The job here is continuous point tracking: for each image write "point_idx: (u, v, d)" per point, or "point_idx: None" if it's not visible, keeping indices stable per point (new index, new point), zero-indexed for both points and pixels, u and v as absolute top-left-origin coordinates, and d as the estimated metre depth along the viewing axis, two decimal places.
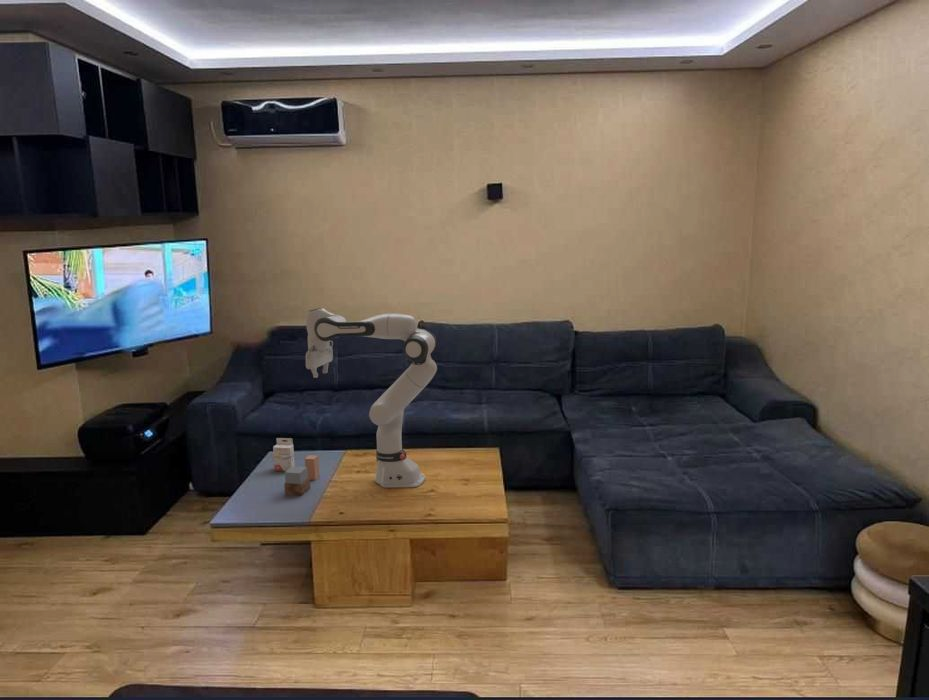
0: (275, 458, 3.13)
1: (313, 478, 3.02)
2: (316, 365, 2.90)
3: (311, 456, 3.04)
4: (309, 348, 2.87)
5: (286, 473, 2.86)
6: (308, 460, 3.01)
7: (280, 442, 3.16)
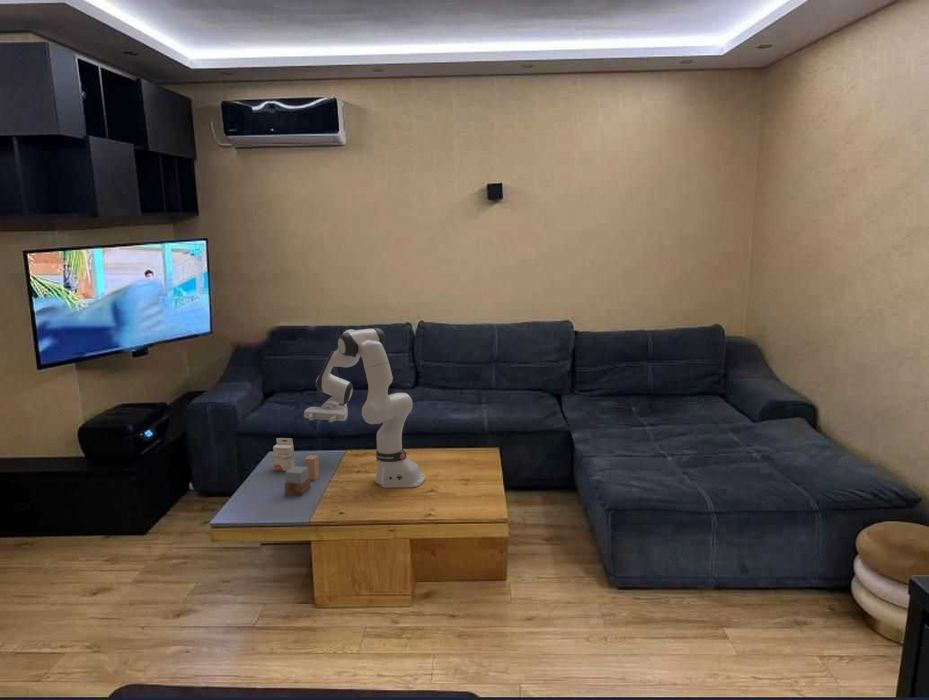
0: (275, 458, 3.13)
1: (313, 478, 3.02)
2: (310, 410, 3.18)
3: (311, 456, 3.04)
4: None
5: (287, 473, 2.86)
6: (308, 460, 3.01)
7: (280, 442, 3.16)
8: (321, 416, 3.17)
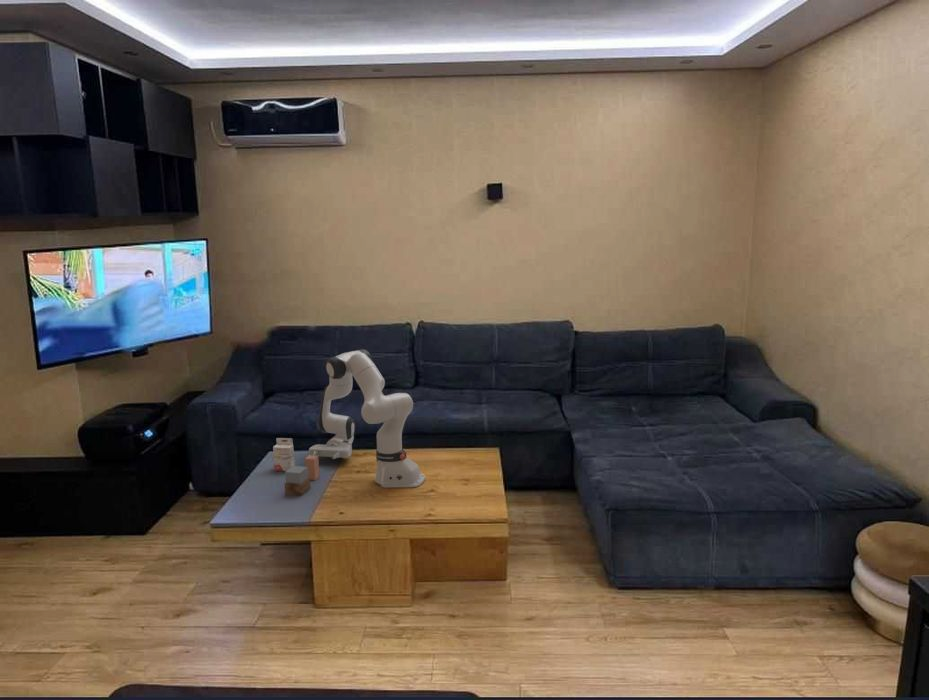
0: (275, 458, 3.13)
1: (313, 478, 3.02)
2: (315, 448, 3.22)
3: (311, 456, 3.04)
4: None
5: (286, 473, 2.86)
6: (308, 460, 3.01)
7: (280, 442, 3.16)
8: (325, 453, 3.21)
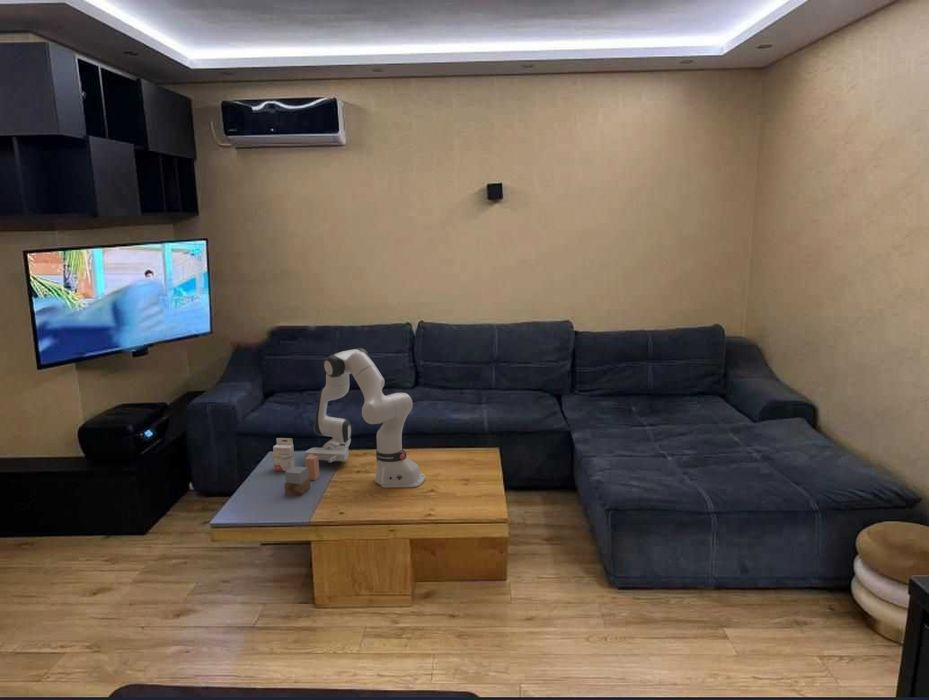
0: (275, 458, 3.13)
1: (313, 478, 3.02)
2: (311, 451, 3.18)
3: (311, 456, 3.04)
4: None
5: (286, 473, 2.86)
6: (308, 460, 3.01)
7: (280, 442, 3.16)
8: (321, 457, 3.17)
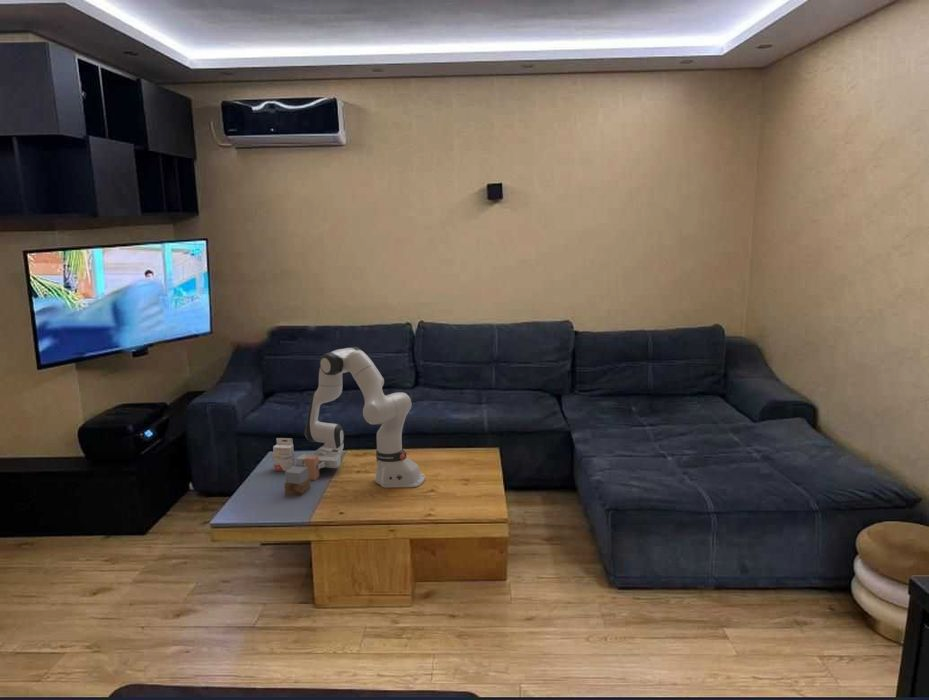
0: (275, 458, 3.13)
1: (313, 478, 3.02)
2: (302, 457, 3.10)
3: (311, 456, 3.04)
4: None
5: (286, 473, 2.86)
6: (308, 460, 3.01)
7: (280, 442, 3.16)
8: None
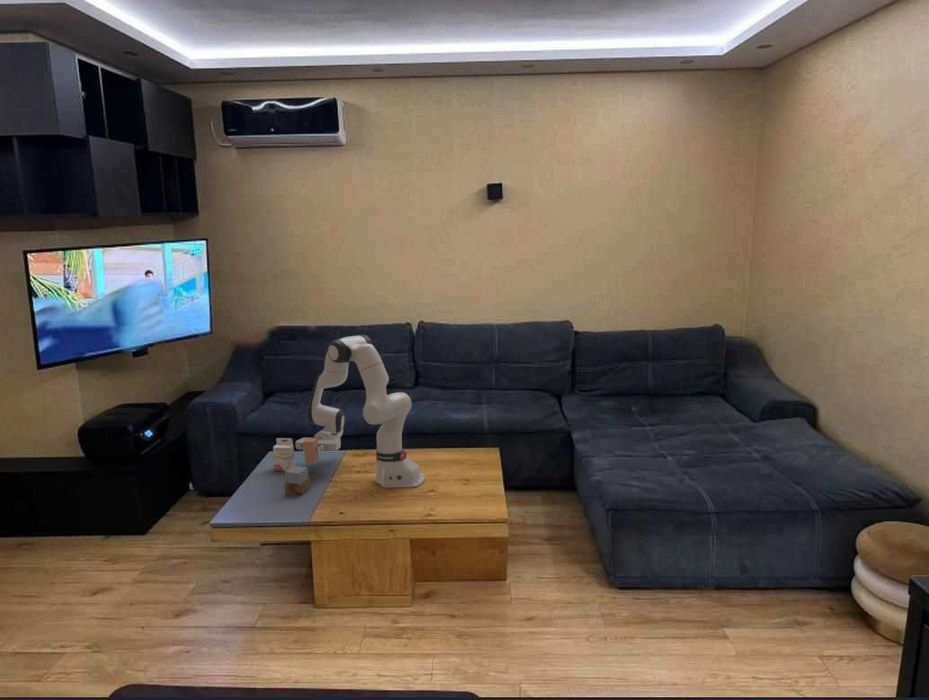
0: (275, 458, 3.13)
1: (312, 461, 3.00)
2: (302, 441, 3.08)
3: (310, 439, 3.02)
4: None
5: (286, 473, 2.86)
6: (307, 443, 2.99)
7: (280, 442, 3.16)
8: None
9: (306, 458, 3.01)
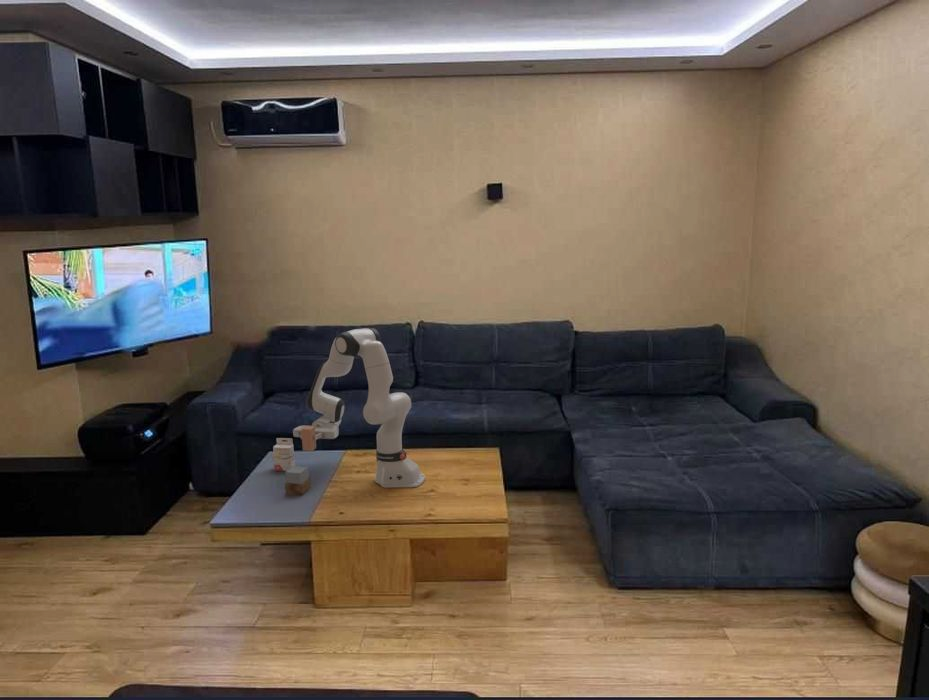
0: (275, 458, 3.13)
1: (310, 449, 2.98)
2: (299, 429, 3.05)
3: (308, 427, 3.00)
4: None
5: (287, 473, 2.86)
6: (305, 430, 2.97)
7: (280, 442, 3.16)
8: None
9: (303, 446, 2.98)
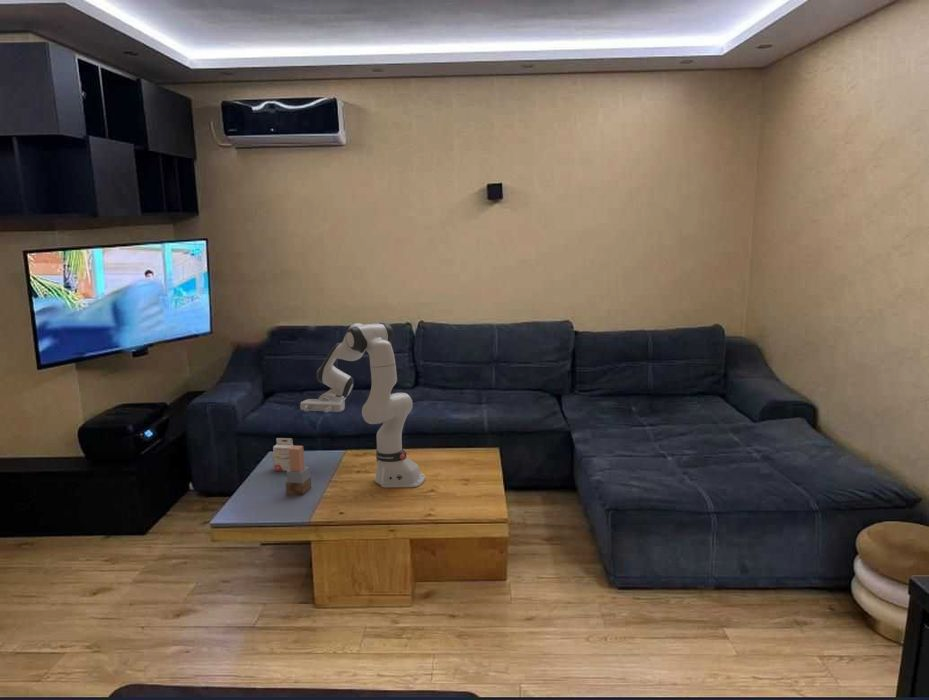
0: (275, 458, 3.13)
1: (298, 469, 2.86)
2: (306, 402, 3.12)
3: (296, 446, 2.87)
4: None
5: (288, 472, 2.86)
6: (292, 450, 2.85)
7: (280, 442, 3.16)
8: (317, 407, 3.11)
9: (291, 466, 2.86)
